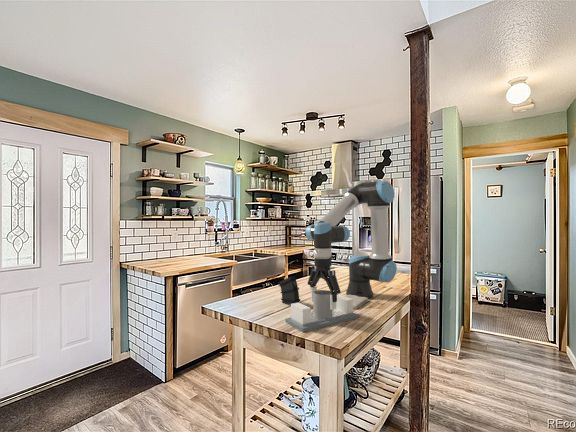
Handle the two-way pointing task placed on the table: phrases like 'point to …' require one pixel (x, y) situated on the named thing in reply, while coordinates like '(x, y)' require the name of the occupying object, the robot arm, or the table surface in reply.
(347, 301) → the module
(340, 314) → the steel rail
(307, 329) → the rail board
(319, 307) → the cup
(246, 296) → the table surface
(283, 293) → the black ribbed block
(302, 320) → the block
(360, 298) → the washcloth
